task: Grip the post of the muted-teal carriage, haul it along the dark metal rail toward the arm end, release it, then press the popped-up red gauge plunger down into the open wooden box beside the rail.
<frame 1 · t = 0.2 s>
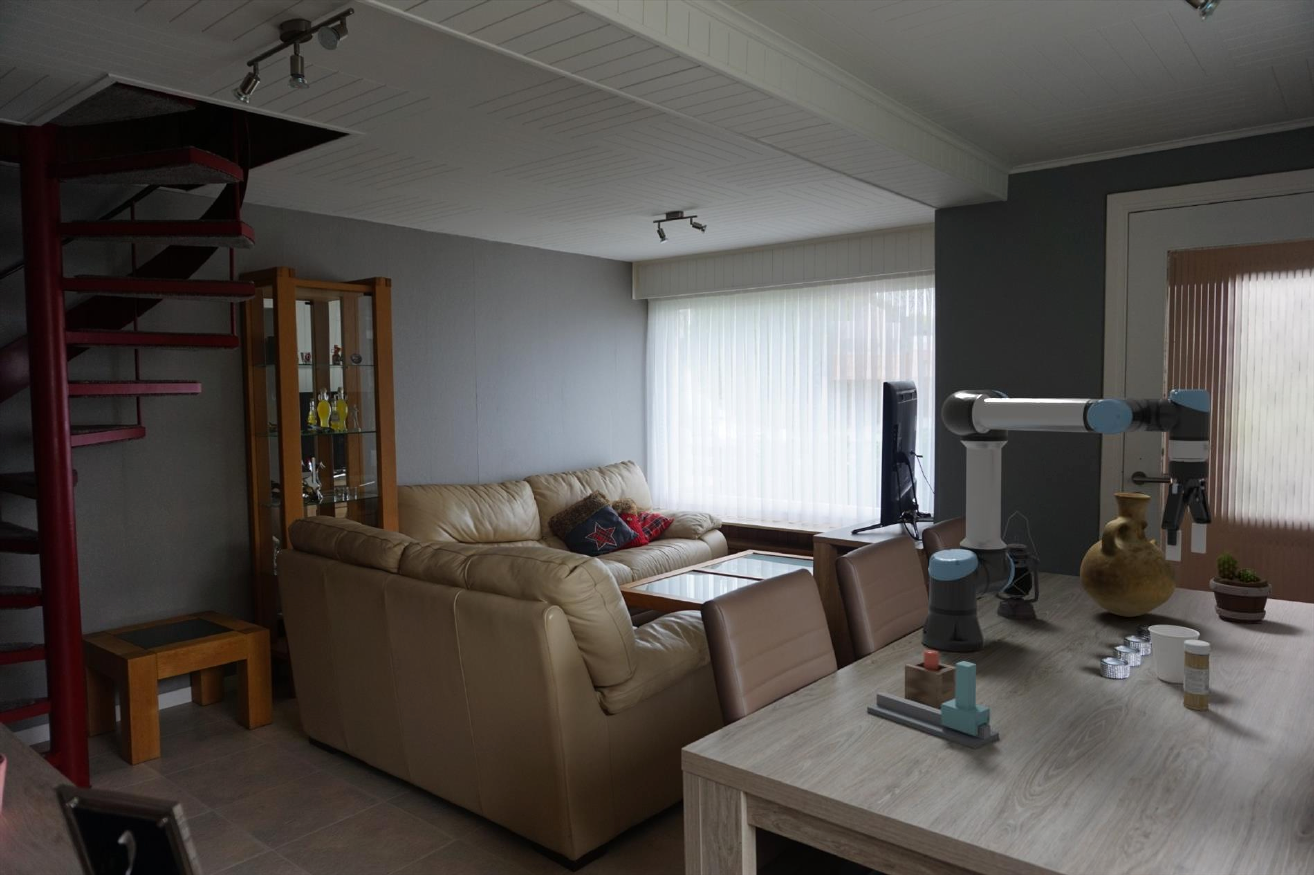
hand: (1186, 556, 191), 28 cm above the table, fingers open, 13 cm apart
open wooden box: (930, 699, 183), on the table
rail bed: (930, 724, 169), on the table
carriage: (965, 695, 163), point 8 cm above the table, slide at 16.0 cm
cup: (1172, 680, 194), on the table
gauge plunger: (931, 662, 182), point 8 cm above the table, slide at 0.0 cm
lantern: (1015, 614, 251), on the table
sprinkles bottle: (1195, 708, 177), on the table
vase: (1125, 616, 249), on the table
flowerpot: (1239, 620, 244), on the table
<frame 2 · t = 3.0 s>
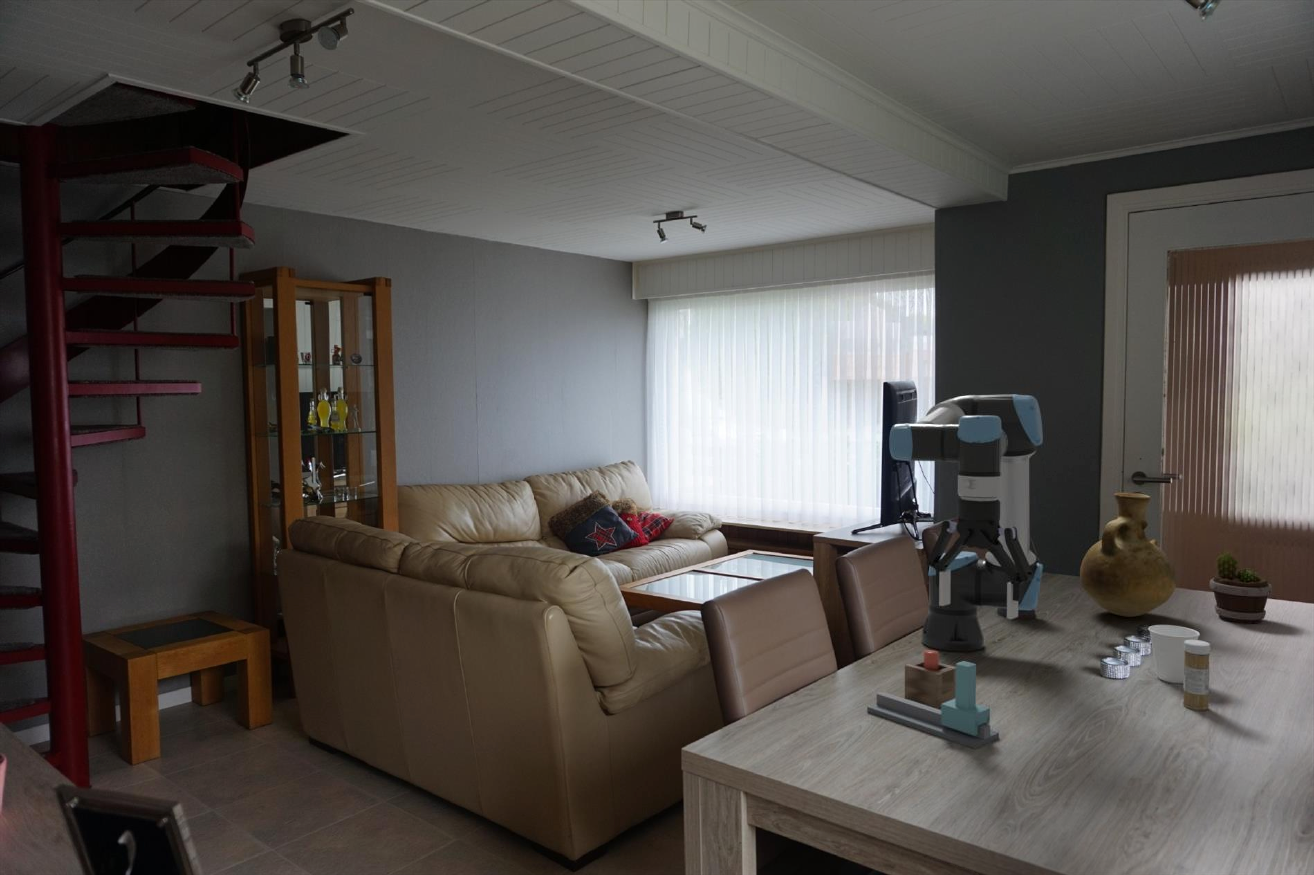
hand: (977, 611, 163), 23 cm above the table, fingers open, 13 cm apart
nothing on the table moved.
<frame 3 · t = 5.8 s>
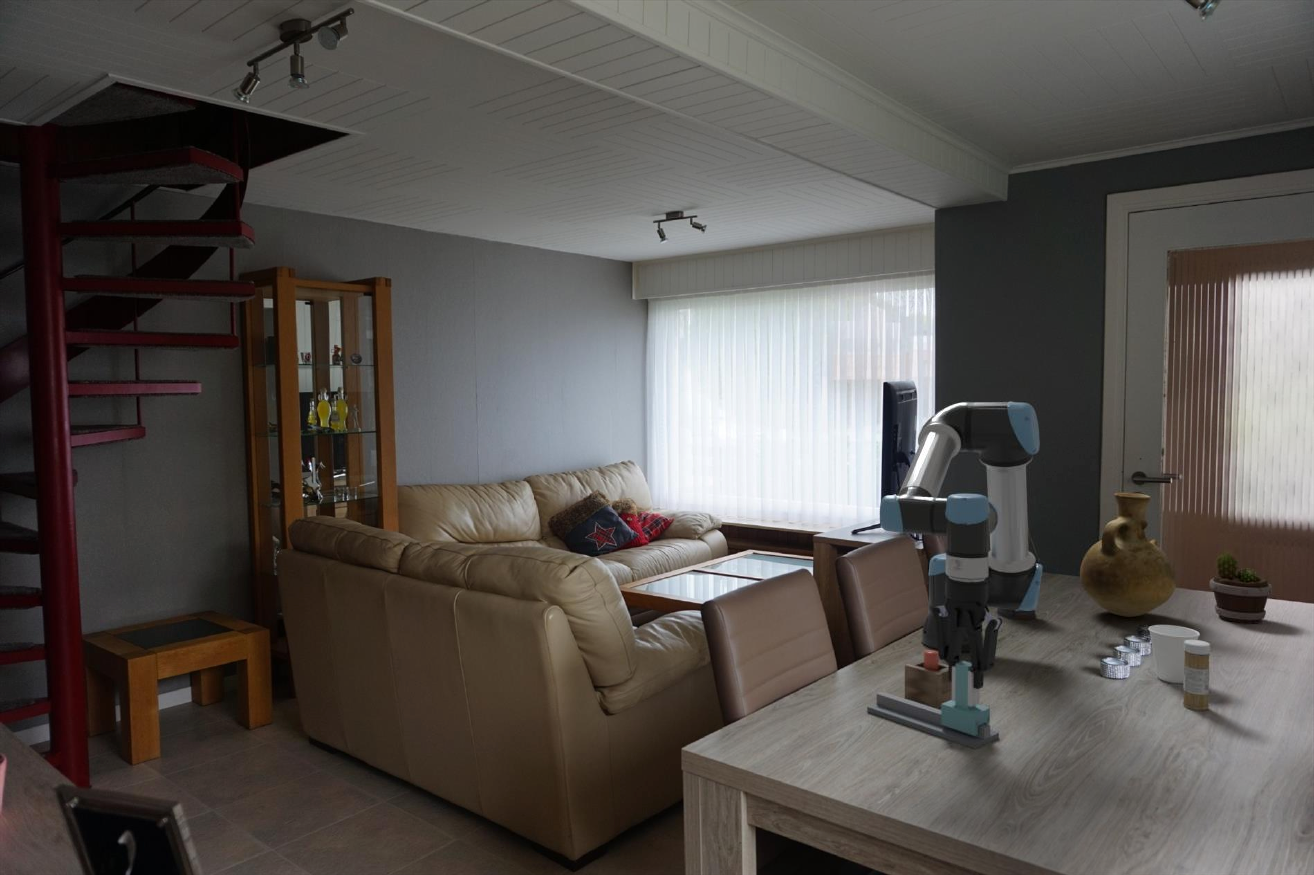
hand: (965, 701, 163), 7 cm above the table, fingers closed on carriage, 3 cm apart
carriage: (965, 695, 163), point 8 cm above the table, slide at 16.0 cm, touching gripper
everything else where it was.
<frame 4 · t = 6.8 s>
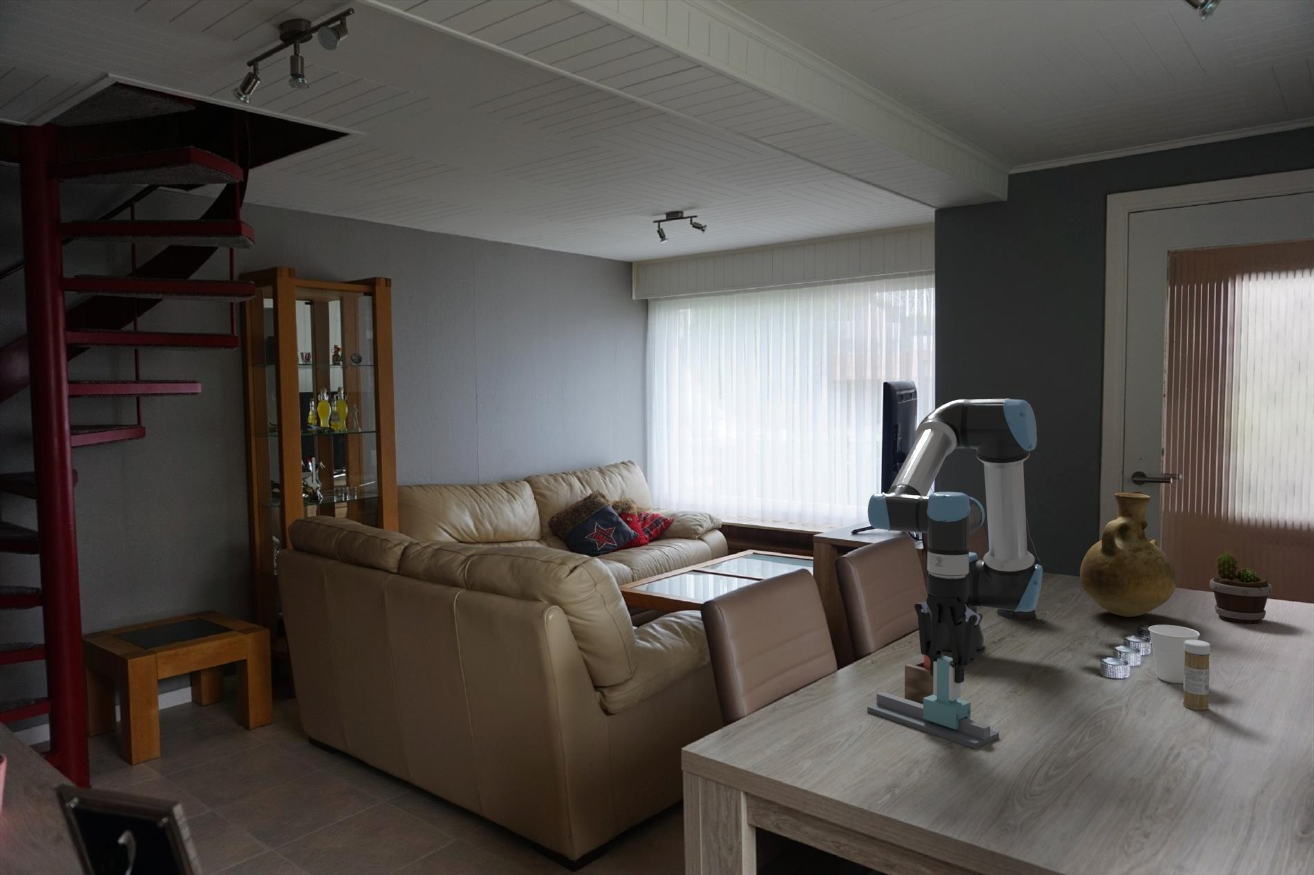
hand: (946, 696, 166), 7 cm above the table, fingers closed on carriage, 3 cm apart
carriage: (946, 689, 166), point 8 cm above the table, slide at 12.0 cm, touching gripper
everything else where it was.
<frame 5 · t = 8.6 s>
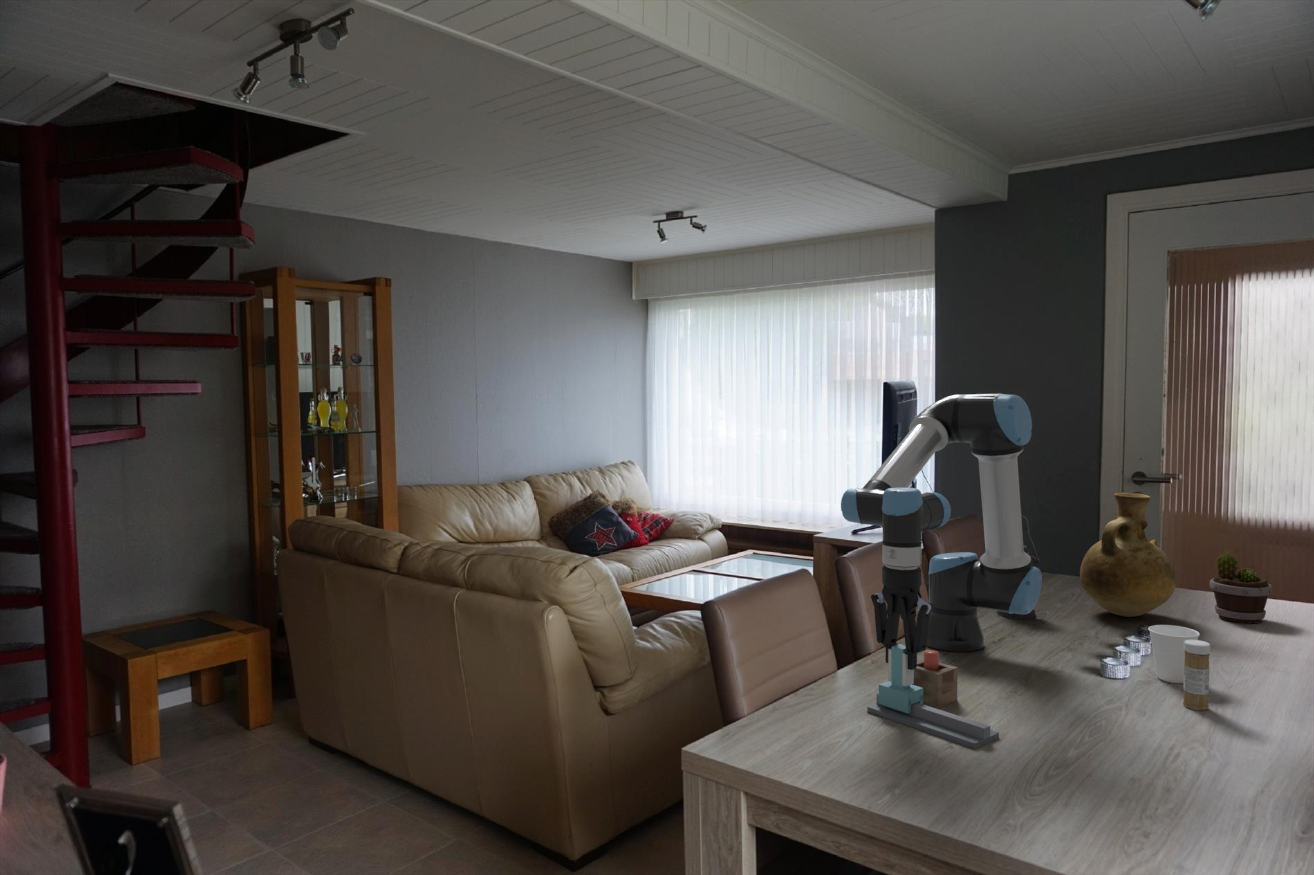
hand: (900, 682, 174), 7 cm above the table, fingers closed on carriage, 3 cm apart
carriage: (900, 676, 174), point 8 cm above the table, slide at 1.6 cm, touching gripper
everything else where it was.
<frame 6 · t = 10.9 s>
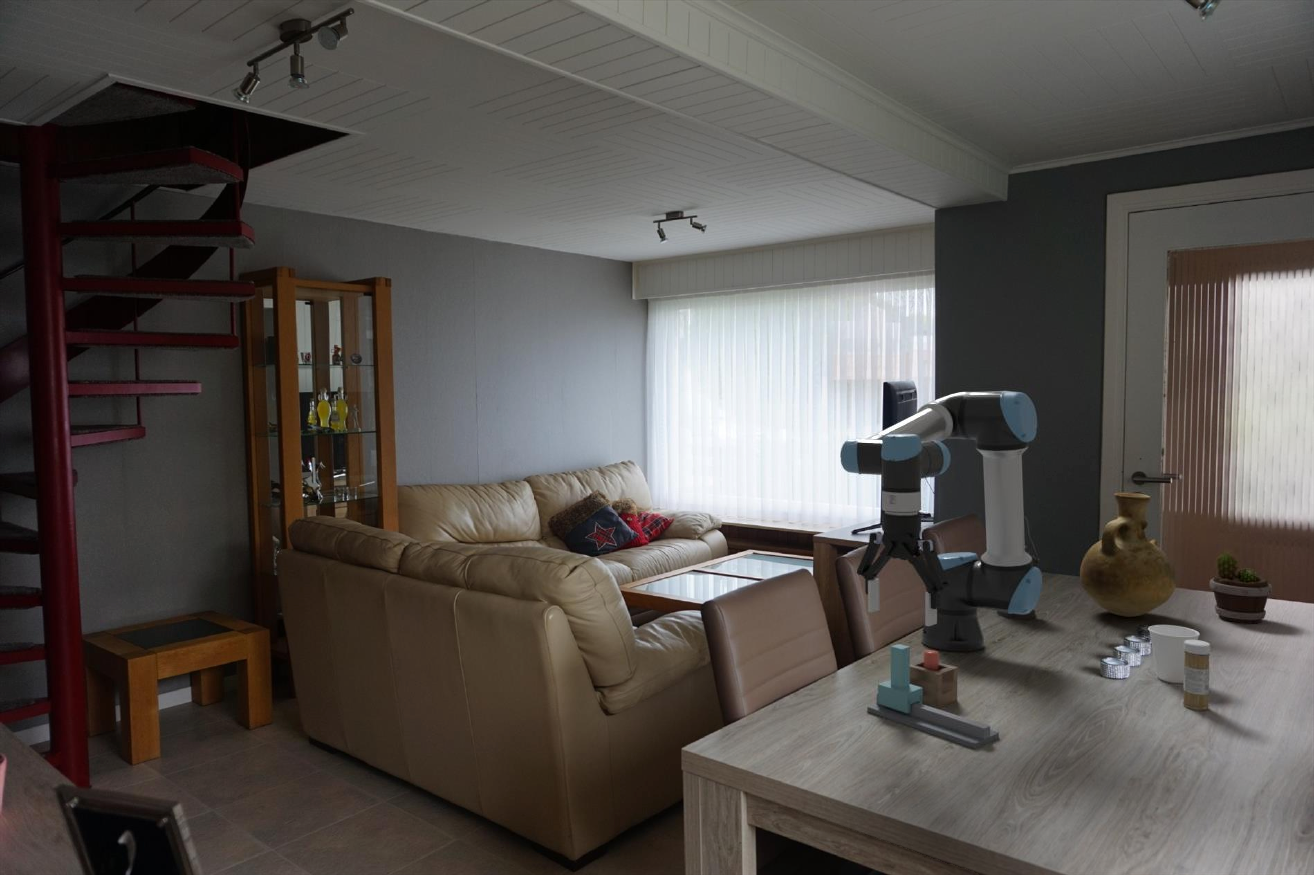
hand: (901, 617, 174), 19 cm above the table, fingers open, 13 cm apart
carriage: (900, 676, 174), point 8 cm above the table, slide at 1.5 cm
everything else where it was.
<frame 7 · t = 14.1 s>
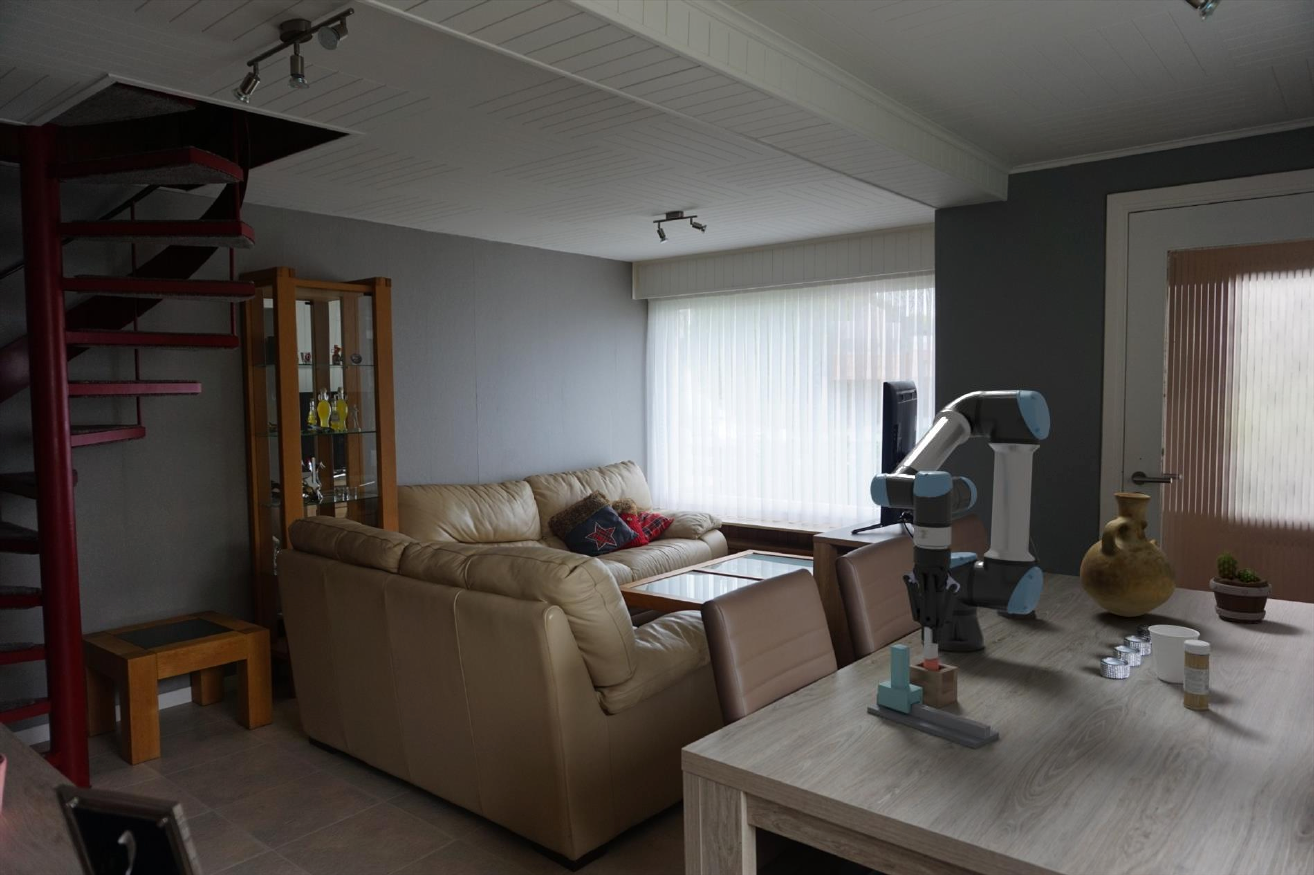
hand: (930, 657, 182), 9 cm above the table, fingers closed
gauge plunger: (931, 668, 182), point 6 cm above the table, slide at 1.4 cm, touching gripper
everything else where it was.
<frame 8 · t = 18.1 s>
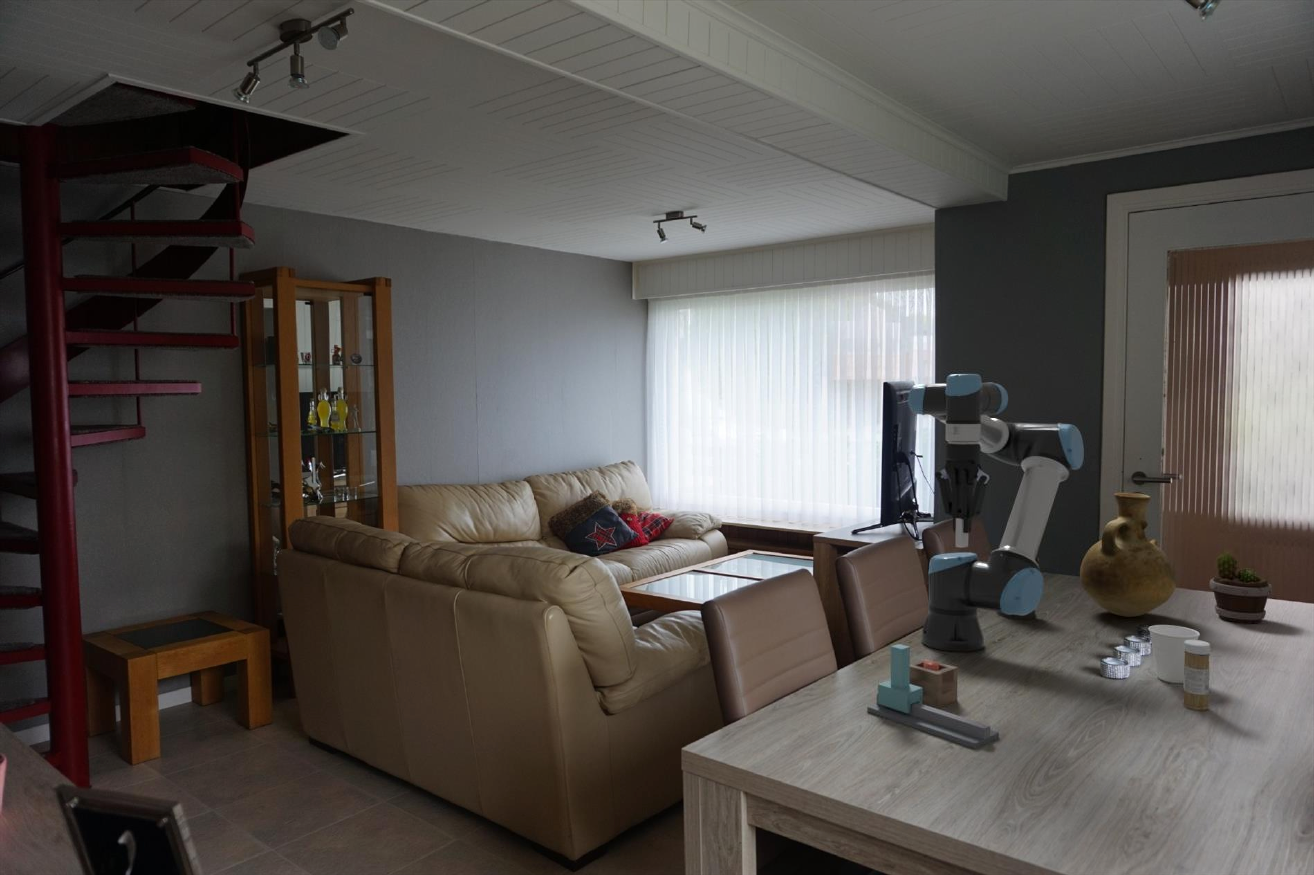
hand: (961, 546, 197), 29 cm above the table, fingers closed
gauge plunger: (931, 673, 183), point 5 cm above the table, slide at 2.4 cm
everything else where it was.
at the end: carriage slide at 1.5 cm; gauge plunger slide at 2.4 cm; the gripper is holding nothing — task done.
